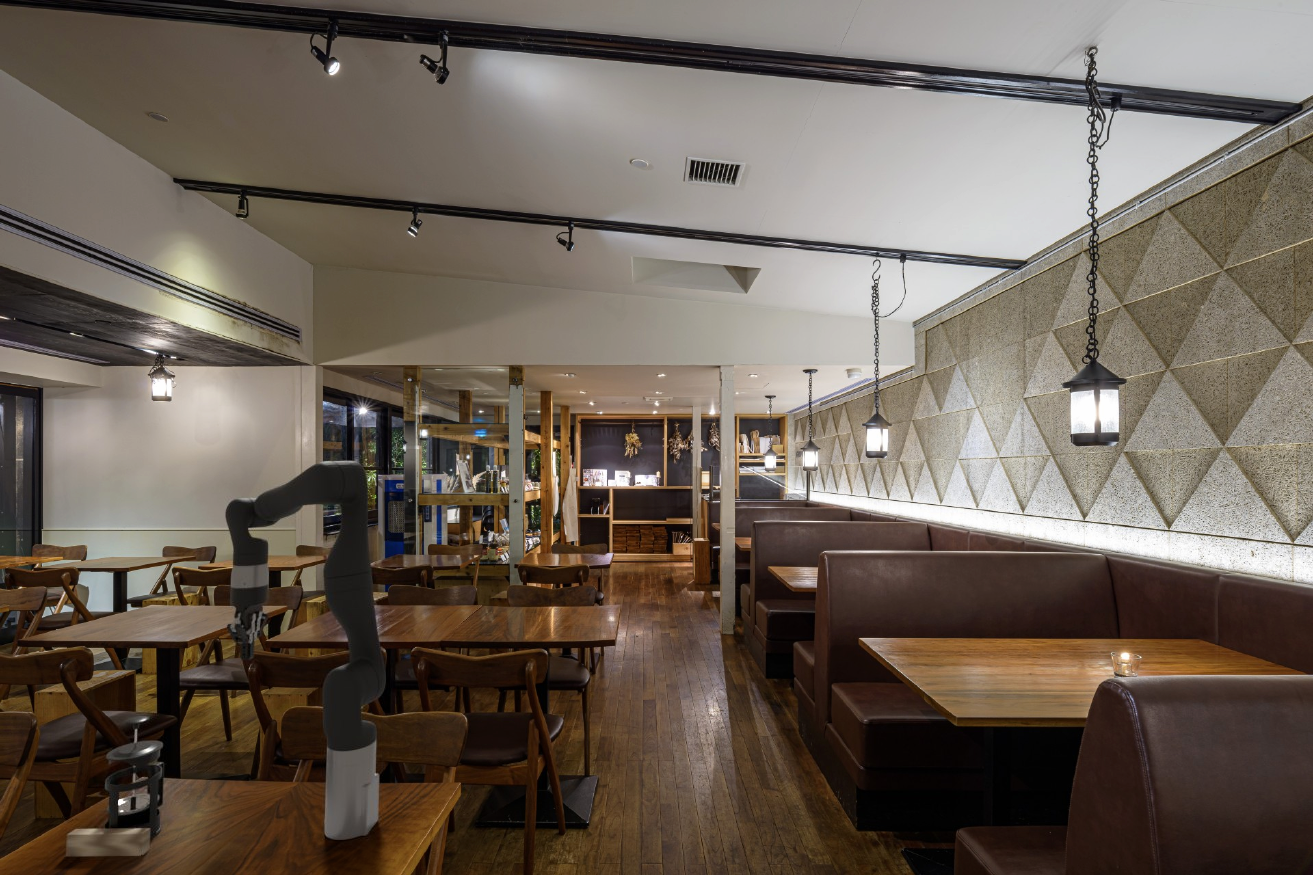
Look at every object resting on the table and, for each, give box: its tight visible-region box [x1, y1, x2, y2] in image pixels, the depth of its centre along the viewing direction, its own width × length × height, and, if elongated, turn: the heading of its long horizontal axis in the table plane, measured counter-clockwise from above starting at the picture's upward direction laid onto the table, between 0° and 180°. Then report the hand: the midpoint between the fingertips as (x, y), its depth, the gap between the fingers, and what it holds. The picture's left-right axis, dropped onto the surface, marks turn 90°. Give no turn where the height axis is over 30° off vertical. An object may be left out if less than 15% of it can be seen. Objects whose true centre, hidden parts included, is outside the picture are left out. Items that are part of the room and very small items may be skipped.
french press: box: [102, 715, 165, 840], centre depth 133 cm, size 12×9×23 cm
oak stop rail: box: [65, 827, 151, 857], centre depth 126 cm, size 14×2×4 cm, turn 92°
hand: (247, 658), depth 154 cm, fingers closed
